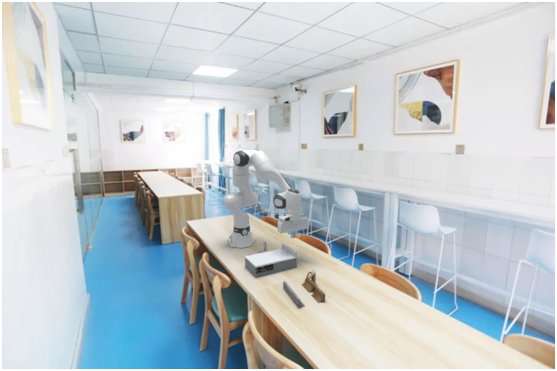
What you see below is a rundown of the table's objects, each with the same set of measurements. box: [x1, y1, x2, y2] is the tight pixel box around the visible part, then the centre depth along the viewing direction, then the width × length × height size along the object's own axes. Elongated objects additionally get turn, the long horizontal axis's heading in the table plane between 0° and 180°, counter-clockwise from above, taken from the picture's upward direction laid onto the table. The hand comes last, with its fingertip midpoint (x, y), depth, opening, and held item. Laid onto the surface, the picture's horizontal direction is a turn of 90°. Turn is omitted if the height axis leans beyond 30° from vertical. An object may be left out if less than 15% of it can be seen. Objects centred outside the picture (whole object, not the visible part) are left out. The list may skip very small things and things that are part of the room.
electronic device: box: [247, 241, 268, 256], centre depth 185 cm, size 5×10×15 cm
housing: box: [244, 257, 298, 279], centre depth 168 cm, size 16×26×6 cm, turn 118°
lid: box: [244, 243, 297, 268], centre depth 167 cm, size 16×26×4 cm, turn 118°
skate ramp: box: [282, 270, 326, 309], centre depth 140 cm, size 29×35×8 cm
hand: (293, 237), depth 173 cm, fingers closed
